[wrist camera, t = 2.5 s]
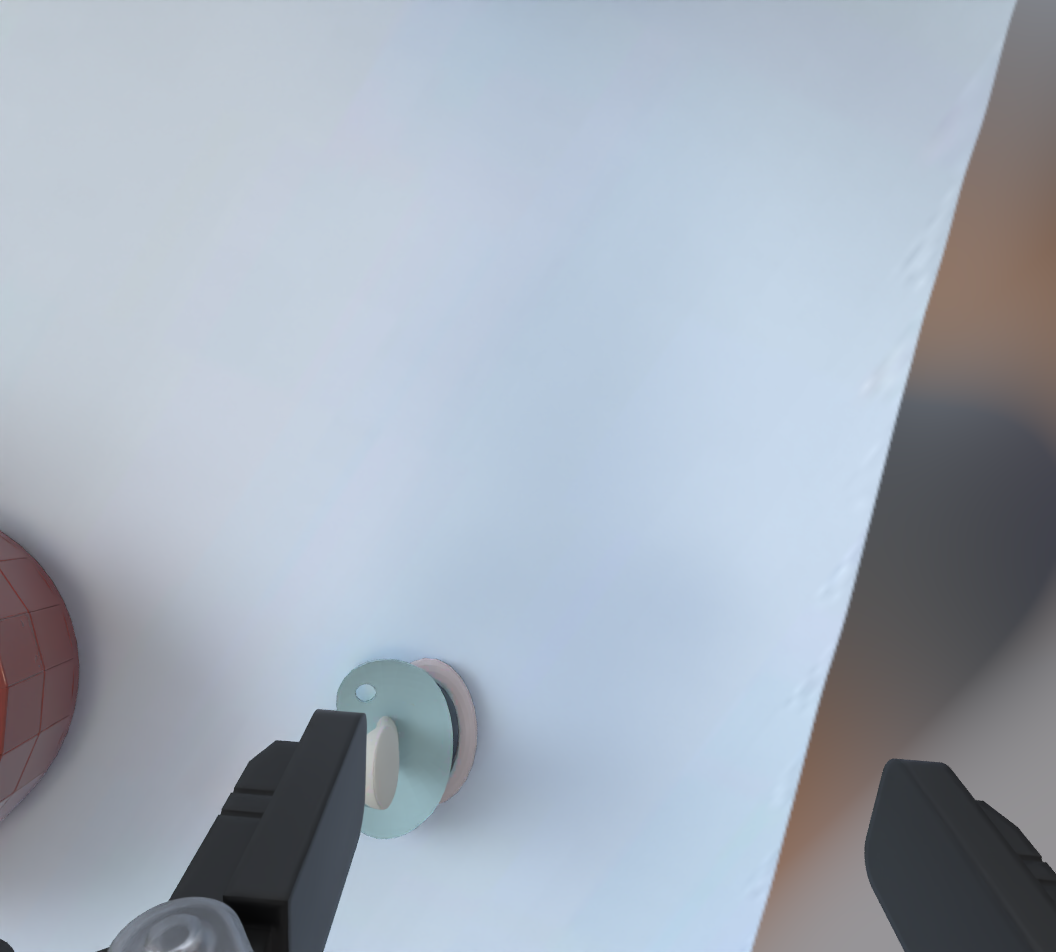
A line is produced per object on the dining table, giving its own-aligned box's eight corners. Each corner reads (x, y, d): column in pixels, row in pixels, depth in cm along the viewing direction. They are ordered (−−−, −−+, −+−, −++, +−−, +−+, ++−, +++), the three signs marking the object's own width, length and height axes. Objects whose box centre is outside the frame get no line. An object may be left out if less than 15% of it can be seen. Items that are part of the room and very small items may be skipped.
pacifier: (471, 642, 35) (335, 654, 34) (489, 669, 29) (325, 685, 28) (480, 804, 35) (344, 822, 34) (500, 867, 29) (335, 891, 27)
